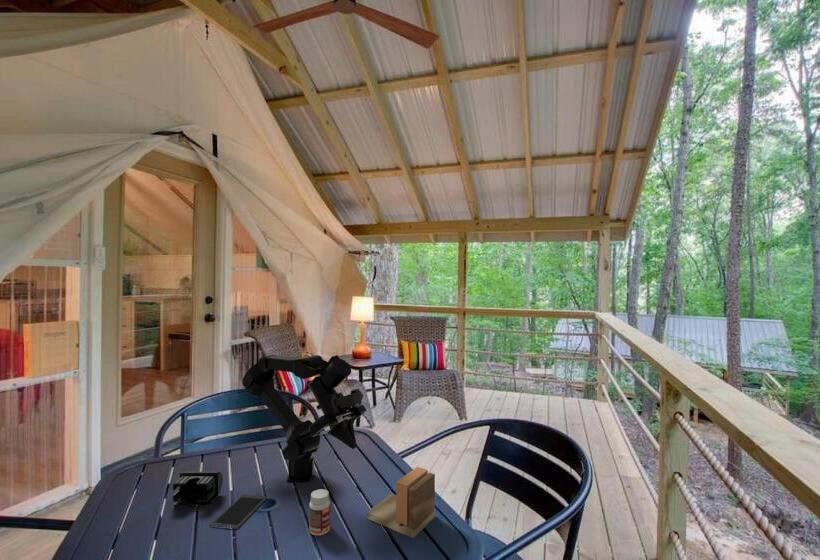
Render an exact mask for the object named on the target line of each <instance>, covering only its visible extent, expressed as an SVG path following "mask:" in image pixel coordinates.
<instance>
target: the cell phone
mask: <svg viewBox="0 0 820 560" xmlns="http://www.w3.org/2000/svg"><path fill="white" fill-rule="evenodd" d="M267 499H268V497H267V496H264V495H254V494H241V495H239V497H238V498H237V499H236V500H234V501H233V502H232V503H231V504H230V505H229V506H228V507H227V508H225V510H224V511H222V512H221V513H220V514H219V515H218V516H217V517H216V518H214V519H213V520H212V522H211V523H210V524H209V527H210V526H214V527H215V526H217V527H227V526H230V525H231V526H230V527H231V528H232V529H234V530H233V531H236V530H235V529H237V530H238V528H239V527H240V528H241V527H242V526H243V525H244V524H245V523H246V521H248V520H249V519H250V518H251V517H252V515H253V514H254V513H255V512H256V511H257V510H258V509H259V508H260V507H261V506H263V504H264V503H265V502H266V501H267ZM228 524H229V525H228Z"/></svg>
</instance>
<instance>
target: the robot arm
mask: <svg viewBox="0 0 820 560" xmlns="http://www.w3.org/2000/svg"><path fill="white" fill-rule="evenodd" d="M276 371H279V372H286V373H292V374H293V375H294V377H296V378H299V379H301V380H306V379H310V378H313V377H314V378H313V379H312V380H307V381H306V384H305V388H304V391H305V392H306V393H307V392H310V391H311V393H312V395H313V397H314V398H315V401H316V403H317V404H318V405H316V406H315V407H316V410H317V411H319V410H321V412H322V414H323V415H321V416H319V417H318V418H317V419H315V421H314V422H312V421H311V420H310V419H307V420H305V421H302V420H301V419H300V418H299V417H298V416H297V414H296V413H295V412H294V410H293V409H292V408H291V407H290V405H289V404H288V403H287V402H286V400H285V399H284V398H283V397H282V396H281V394H280V393H279V392H278V391H277V390H278V389H276V388H275V378H274V377H275V376H276V374H277V372H276ZM351 374H352V367H351V365H350V363H349V362H348V361H346V360H344V359H342V358H340V357H339V355H332V356H331V357H330V358H329V360H328V361H327V360H325V359H324V358H323V357H322V356H321V355H319V354H315V355H310V356H309V355H308V356H302V357H296V356H295V357H293V356H284V355H277V354H270V355H269V354H268V355H265V356H264V355H263V356H261V357H260V358H259V359H258V360H257V362H256V363H255V364H254V365H252V366H251V367H250V368H249V369H248V370H247V371H246V373H245V374H244V376H242V380H241V384H242V387H243V388H244V390H246V391H247V392H248V393H249V394H250V395H252V396H253V397H255V398H259V399H260V400H261V401H262V403H263V404H264V405H265V406H266V408H267V409H268V410H269V412H270V413H271V414H272V415H273V417H274V418H275V420H276V421H277V422H278V423H279V425H280V427H282V429H283V430H284V432H285V434H286V436H285V437H286V438H285V439H286V440H285V441H286V444H287V445H286V446H285V447H284V448H283V450H282V453H281V454H282V457H283V459H284V460H287V461H288V462H287V465H288V466H287V467H288V469H287V471H288V473H287V474H288V476H287V478H286V482H290V483H291V482H293V483H294V482H295V483H296V482H310V481H311V479H312V477H313V475H314V474H315V457H313V454H314V453H317V452H318V448H319V446H320V442H321V432H322V430H324V429H325V428H327V427H329V430H328V431H327V432H326V433H327V435H331V436H333V437H334V438H336V439H337V440H339V441H340V442H341V443H343V444H345V445H346V446H347V447H349V448H350V449H352V450H354V449H355V448H357V446H358V444H357V440H356V434H355V429H354V428H355V427H354V424H355V421H356V420H358V419H359V418H360V417H361V416H362V415H364V414H365V413H366V412H367V409H366V407H365V405H364V404H363V402H362V400H363V398H364V394H363V393H362V392H361V390H360V389H359V388H357V389H353V390H350V394H346V395H344V394H343V393H342V392H337V390H336V388H338V387H339V386H340V384H342V383H343V382H344V381H345V380H346V379H348V378H349V376H350V375H351Z"/></svg>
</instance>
